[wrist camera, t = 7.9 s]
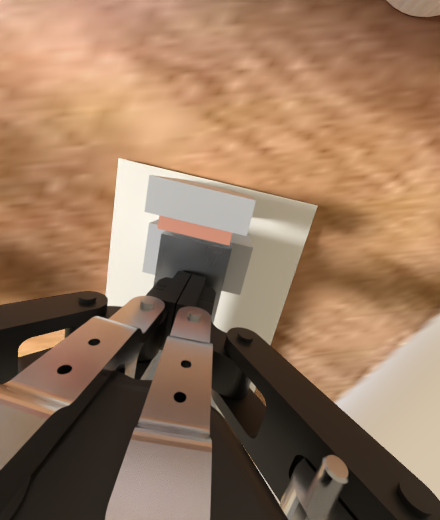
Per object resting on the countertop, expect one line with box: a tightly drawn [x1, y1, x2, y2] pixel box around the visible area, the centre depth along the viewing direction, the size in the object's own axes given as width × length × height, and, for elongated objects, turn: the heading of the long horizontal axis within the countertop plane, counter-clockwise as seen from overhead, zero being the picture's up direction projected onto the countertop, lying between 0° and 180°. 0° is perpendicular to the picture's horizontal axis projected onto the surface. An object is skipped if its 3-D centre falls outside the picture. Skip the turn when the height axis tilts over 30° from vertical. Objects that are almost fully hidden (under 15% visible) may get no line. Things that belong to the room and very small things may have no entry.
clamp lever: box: [145, 231, 232, 380], centre depth 15 cm, size 17×4×2 cm, turn 167°
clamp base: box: [106, 158, 318, 418], centre depth 17 cm, size 21×14×9 cm, turn 167°
